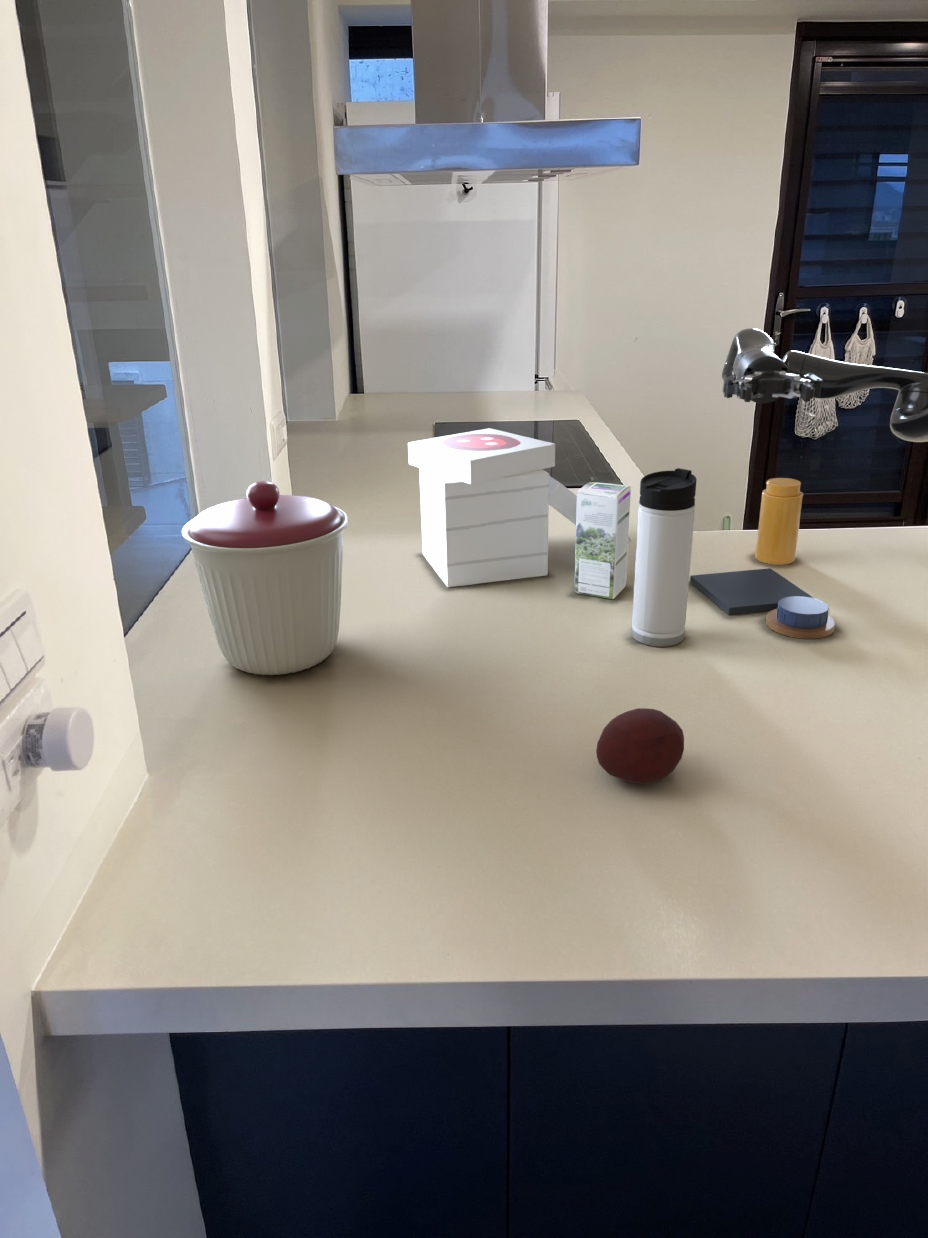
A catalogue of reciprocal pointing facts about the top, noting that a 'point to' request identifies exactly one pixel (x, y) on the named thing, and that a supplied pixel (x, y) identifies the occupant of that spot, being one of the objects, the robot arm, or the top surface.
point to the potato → (640, 746)
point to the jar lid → (802, 612)
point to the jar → (779, 521)
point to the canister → (271, 577)
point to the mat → (746, 590)
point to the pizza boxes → (487, 505)
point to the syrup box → (601, 539)
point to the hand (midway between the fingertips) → (778, 394)
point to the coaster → (799, 632)
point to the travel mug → (663, 557)
